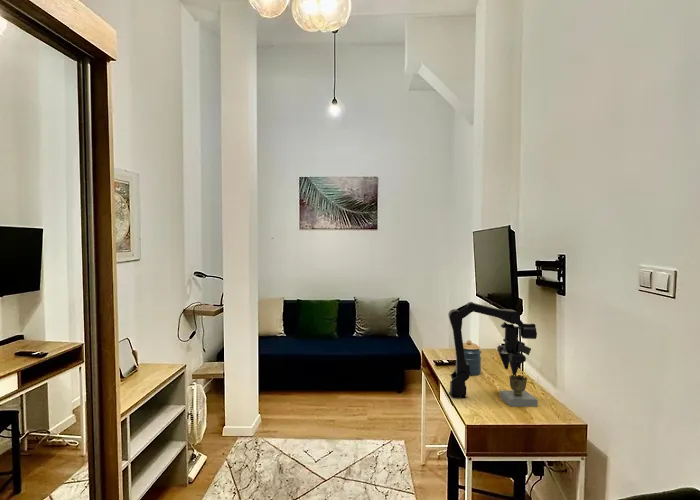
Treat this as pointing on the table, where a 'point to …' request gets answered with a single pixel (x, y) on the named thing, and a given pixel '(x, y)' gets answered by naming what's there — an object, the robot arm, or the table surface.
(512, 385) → the cup
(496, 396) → the table surface
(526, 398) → the slate base
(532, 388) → the table surface
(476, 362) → the canister
